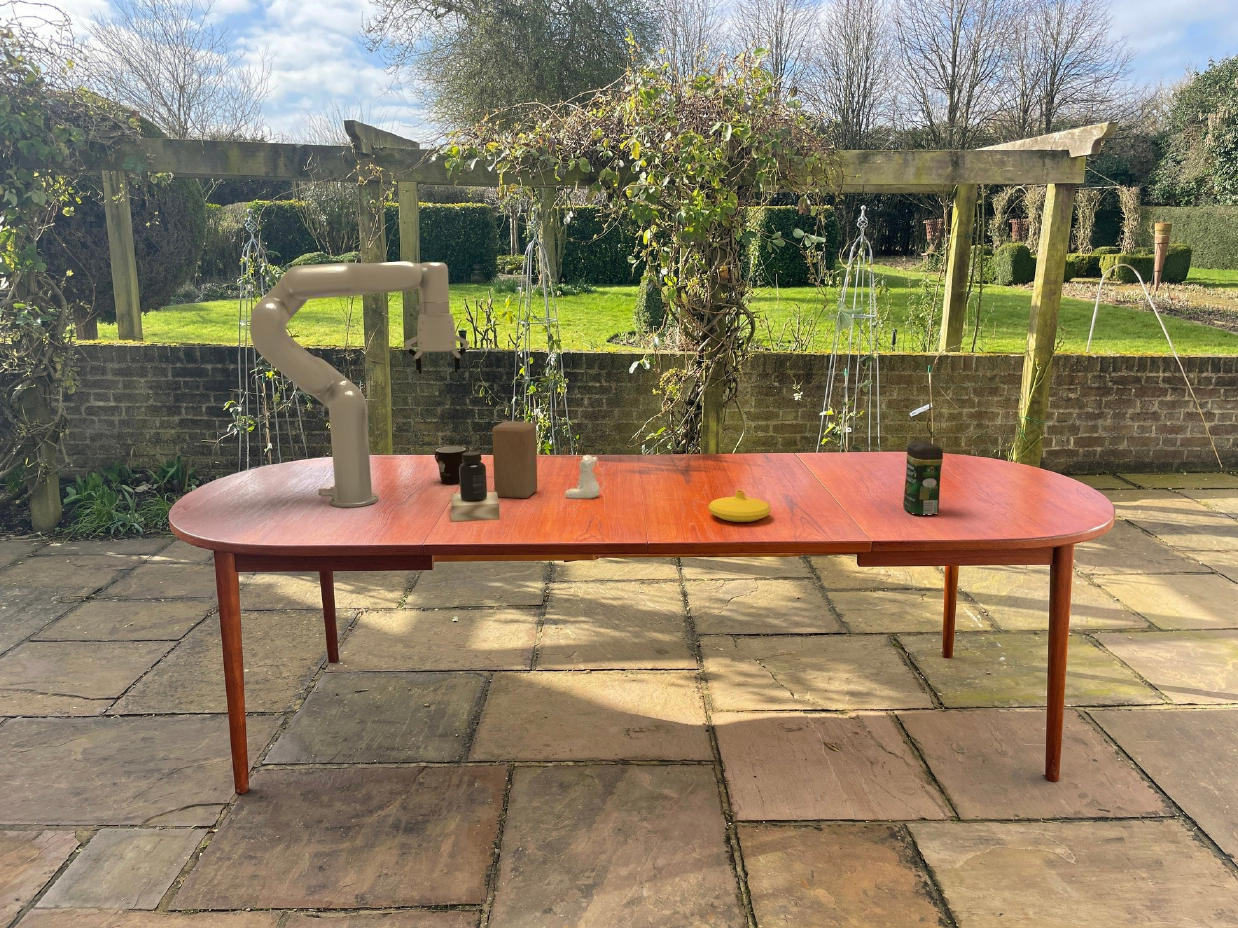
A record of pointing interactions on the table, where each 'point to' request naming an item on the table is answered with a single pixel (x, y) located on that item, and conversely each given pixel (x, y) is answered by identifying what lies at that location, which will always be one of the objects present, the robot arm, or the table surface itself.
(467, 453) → the supplement bottle
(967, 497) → the table surface
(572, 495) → the seated beast figurine
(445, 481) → the coffee mug
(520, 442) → the block
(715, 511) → the vase
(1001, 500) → the table surface
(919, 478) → the coffee jar
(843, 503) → the table surface
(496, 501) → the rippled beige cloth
